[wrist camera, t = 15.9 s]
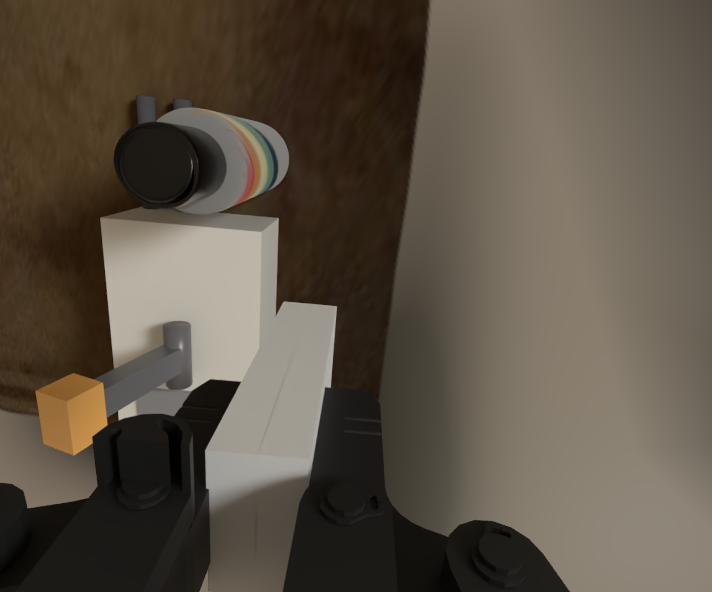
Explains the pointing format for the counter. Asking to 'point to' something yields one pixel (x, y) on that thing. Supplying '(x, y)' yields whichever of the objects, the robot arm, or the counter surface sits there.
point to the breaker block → (189, 291)
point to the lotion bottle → (199, 161)
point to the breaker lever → (112, 390)
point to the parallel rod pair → (154, 115)
